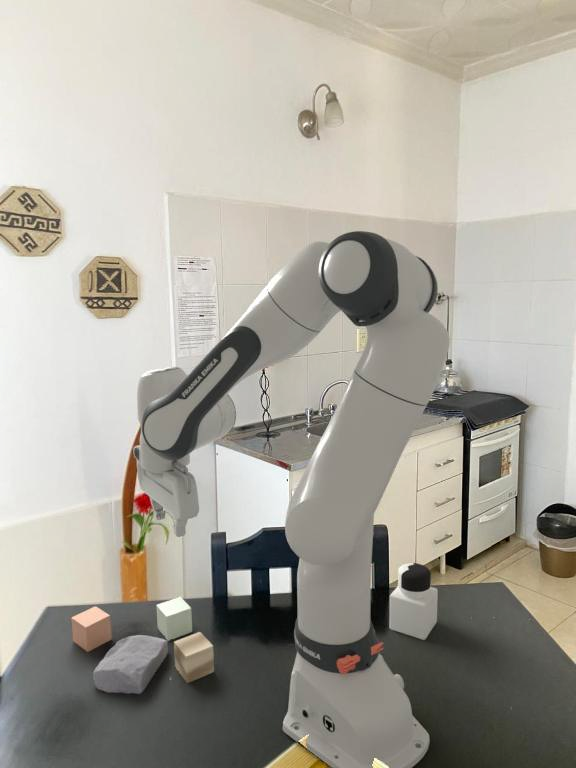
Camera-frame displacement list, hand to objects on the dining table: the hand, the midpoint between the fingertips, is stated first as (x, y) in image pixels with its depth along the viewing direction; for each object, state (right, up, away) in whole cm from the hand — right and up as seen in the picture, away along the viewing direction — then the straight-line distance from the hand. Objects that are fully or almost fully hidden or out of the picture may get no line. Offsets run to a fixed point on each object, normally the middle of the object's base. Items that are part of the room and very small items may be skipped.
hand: (169, 526), depth 108 cm
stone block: (-5, -23, -8) cm, 25 cm away
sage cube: (0, -21, +4) cm, 21 cm away
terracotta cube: (-15, -22, +1) cm, 26 cm away
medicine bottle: (+46, -20, +3) cm, 51 cm away
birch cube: (+6, -23, -8) cm, 25 cm away
